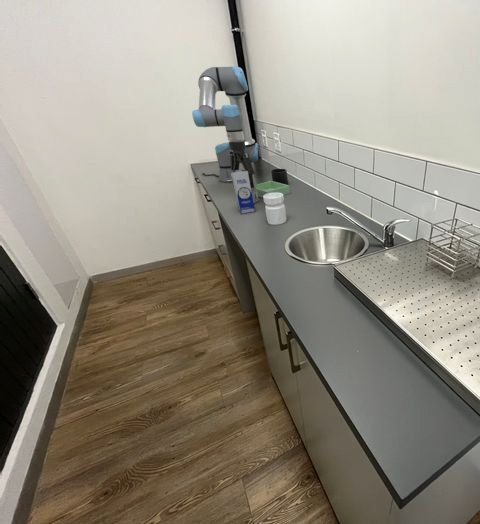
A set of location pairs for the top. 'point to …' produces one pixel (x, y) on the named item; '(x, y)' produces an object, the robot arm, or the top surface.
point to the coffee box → (253, 189)
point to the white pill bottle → (275, 208)
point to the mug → (280, 176)
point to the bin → (272, 188)
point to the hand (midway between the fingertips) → (245, 186)
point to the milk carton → (243, 191)
